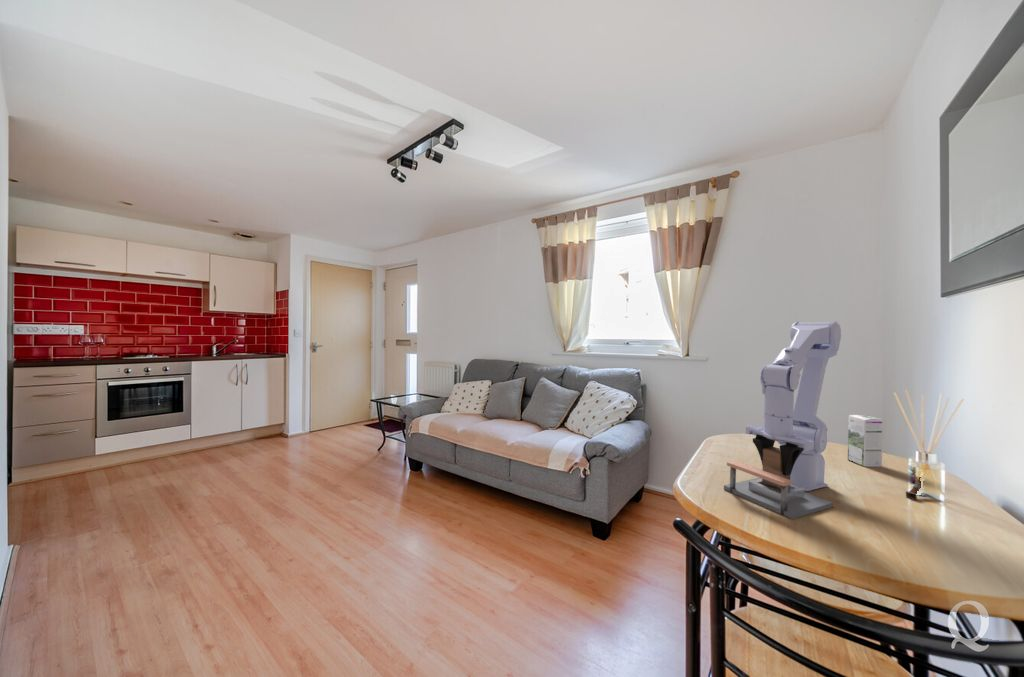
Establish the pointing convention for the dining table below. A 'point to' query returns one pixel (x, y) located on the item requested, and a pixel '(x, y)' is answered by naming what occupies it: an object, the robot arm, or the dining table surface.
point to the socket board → (774, 492)
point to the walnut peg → (773, 463)
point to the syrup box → (865, 440)
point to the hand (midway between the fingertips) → (776, 471)
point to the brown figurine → (914, 490)
